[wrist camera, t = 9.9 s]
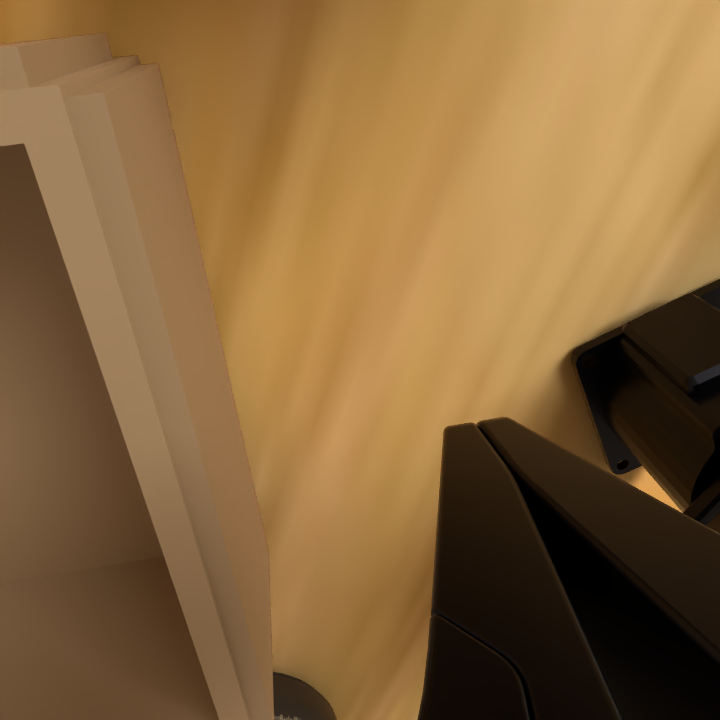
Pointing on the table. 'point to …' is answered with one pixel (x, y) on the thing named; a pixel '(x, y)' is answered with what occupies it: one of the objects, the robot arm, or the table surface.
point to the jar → (298, 700)
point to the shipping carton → (116, 415)
